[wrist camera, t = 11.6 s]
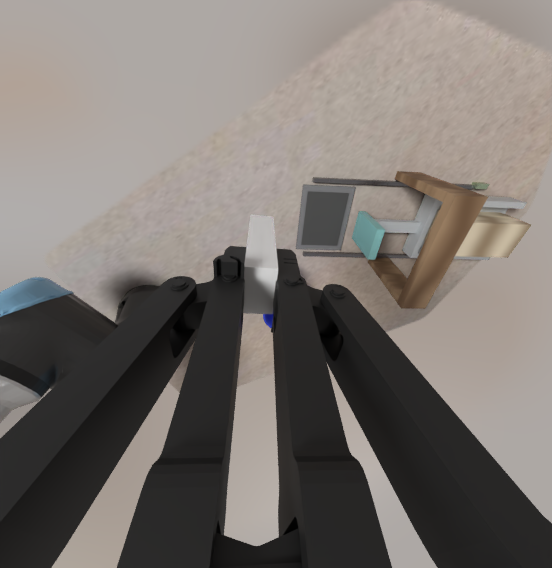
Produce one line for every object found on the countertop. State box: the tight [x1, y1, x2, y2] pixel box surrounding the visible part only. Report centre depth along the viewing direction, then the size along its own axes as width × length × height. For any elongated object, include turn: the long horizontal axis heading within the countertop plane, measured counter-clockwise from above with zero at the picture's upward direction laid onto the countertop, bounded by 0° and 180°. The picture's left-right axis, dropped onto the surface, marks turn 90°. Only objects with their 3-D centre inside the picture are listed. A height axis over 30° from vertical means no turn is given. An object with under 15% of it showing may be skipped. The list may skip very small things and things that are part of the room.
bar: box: [424, 210, 531, 258], centre depth 41 cm, size 12×6×6 cm, turn 87°
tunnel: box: [368, 171, 488, 308], centre depth 38 cm, size 4×17×14 cm, turn 177°
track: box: [303, 177, 489, 258], centre depth 43 cm, size 30×15×1 cm, turn 87°
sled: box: [352, 194, 527, 260], centre depth 40 cm, size 28×11×10 cm, turn 87°
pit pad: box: [296, 185, 355, 250], centre depth 43 cm, size 9×12×1 cm
